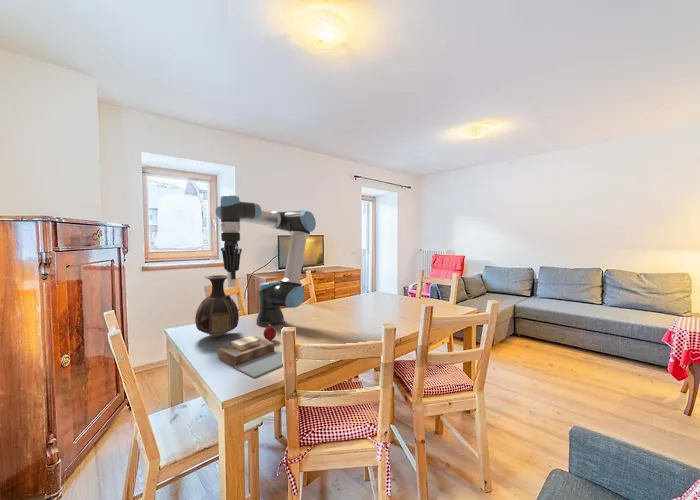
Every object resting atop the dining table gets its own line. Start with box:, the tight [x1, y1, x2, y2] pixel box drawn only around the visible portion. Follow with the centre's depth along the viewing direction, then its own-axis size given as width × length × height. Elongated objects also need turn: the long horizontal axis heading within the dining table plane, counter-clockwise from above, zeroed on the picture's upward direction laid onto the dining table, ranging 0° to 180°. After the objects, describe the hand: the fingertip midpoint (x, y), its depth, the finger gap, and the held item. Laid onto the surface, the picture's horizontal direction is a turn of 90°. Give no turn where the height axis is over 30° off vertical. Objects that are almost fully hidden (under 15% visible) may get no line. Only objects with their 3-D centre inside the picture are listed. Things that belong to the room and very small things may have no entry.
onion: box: [263, 324, 277, 342], centre depth 144 cm, size 6×6×8 cm
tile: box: [230, 335, 260, 350], centre depth 129 cm, size 9×7×2 cm
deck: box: [217, 336, 275, 367], centre depth 128 cm, size 18×13×4 cm
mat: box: [233, 350, 284, 379], centre depth 120 cm, size 20×13×1 cm, turn 141°
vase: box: [194, 274, 240, 338], centre depth 150 cm, size 23×19×30 cm
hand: (231, 286), depth 133 cm, fingers closed
